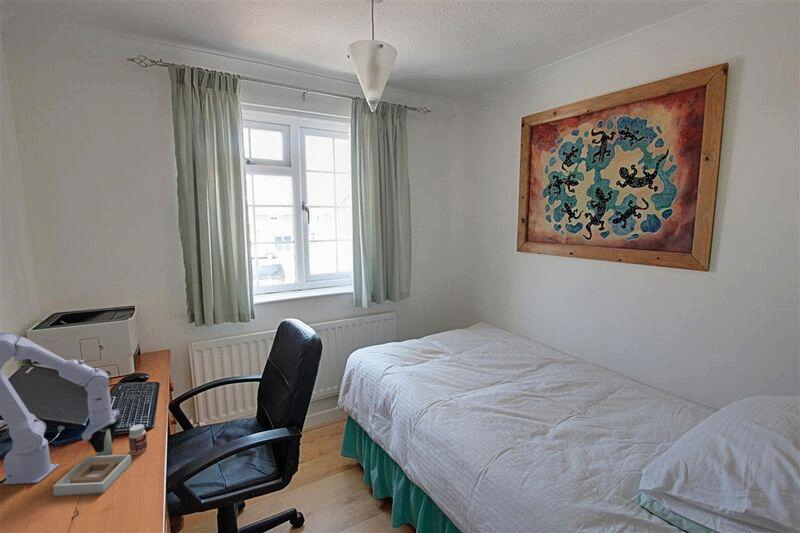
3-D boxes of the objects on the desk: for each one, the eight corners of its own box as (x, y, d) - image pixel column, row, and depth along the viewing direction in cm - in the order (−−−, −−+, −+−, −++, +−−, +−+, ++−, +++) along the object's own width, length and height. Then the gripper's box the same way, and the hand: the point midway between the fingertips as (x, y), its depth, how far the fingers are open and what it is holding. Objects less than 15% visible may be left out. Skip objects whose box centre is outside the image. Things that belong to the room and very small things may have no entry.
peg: (94, 458, 122) (91, 435, 121) (102, 450, 126) (100, 428, 125) (107, 457, 122) (104, 434, 121) (115, 449, 126) (113, 427, 125)
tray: (54, 495, 106) (52, 486, 105) (87, 465, 119) (86, 456, 118) (103, 493, 107) (102, 483, 106) (131, 463, 120) (130, 454, 119)
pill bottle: (138, 456, 123) (136, 432, 122) (126, 454, 124) (124, 430, 123) (151, 447, 128) (148, 424, 127) (139, 445, 129) (136, 422, 128)
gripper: (97, 419, 115) (102, 460, 117) (127, 397, 129) (130, 433, 131) (72, 420, 114) (77, 461, 116) (105, 397, 129) (109, 434, 131)
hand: (104, 447), depth 124 cm, fingers closed on peg, 4 cm apart
